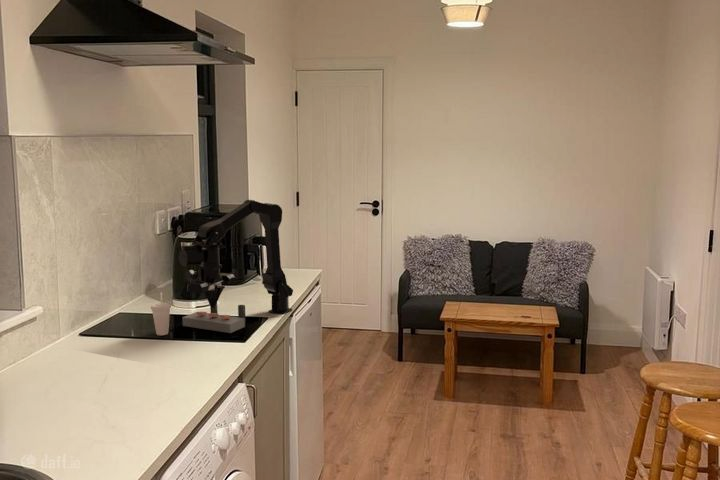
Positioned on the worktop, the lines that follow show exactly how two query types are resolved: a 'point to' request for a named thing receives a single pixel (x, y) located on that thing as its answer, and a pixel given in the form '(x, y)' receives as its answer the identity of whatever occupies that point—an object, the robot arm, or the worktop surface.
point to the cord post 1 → (214, 309)
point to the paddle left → (201, 313)
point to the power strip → (213, 322)
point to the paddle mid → (213, 315)
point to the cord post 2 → (241, 311)
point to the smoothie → (161, 316)
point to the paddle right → (225, 316)
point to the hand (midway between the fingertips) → (212, 307)
